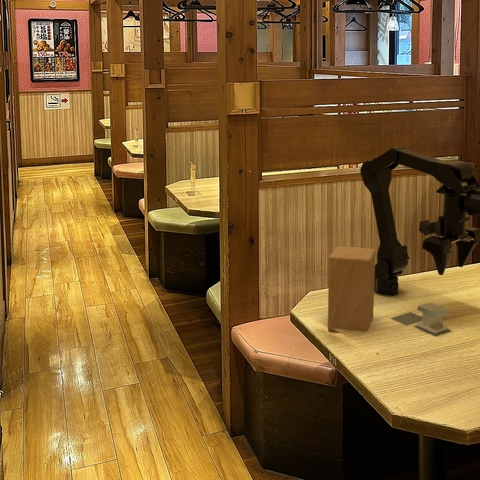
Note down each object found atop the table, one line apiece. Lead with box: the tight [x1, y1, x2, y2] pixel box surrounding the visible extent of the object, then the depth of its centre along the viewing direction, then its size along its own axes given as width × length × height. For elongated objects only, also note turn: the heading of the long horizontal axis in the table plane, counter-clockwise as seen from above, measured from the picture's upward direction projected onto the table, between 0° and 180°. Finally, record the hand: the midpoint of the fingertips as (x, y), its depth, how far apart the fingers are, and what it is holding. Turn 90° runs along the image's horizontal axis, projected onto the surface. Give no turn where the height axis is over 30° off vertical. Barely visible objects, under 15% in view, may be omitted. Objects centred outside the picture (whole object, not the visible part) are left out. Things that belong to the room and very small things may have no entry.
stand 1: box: [390, 311, 423, 326], centre depth 171 cm, size 6×7×2 cm
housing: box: [416, 301, 450, 335], centre depth 164 cm, size 4×6×6 cm
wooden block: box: [327, 245, 376, 334], centre depth 167 cm, size 10×10×20 cm
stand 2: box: [413, 325, 452, 338], centre depth 164 cm, size 7×6×2 cm
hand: (450, 270), depth 172 cm, fingers open, 9 cm apart
